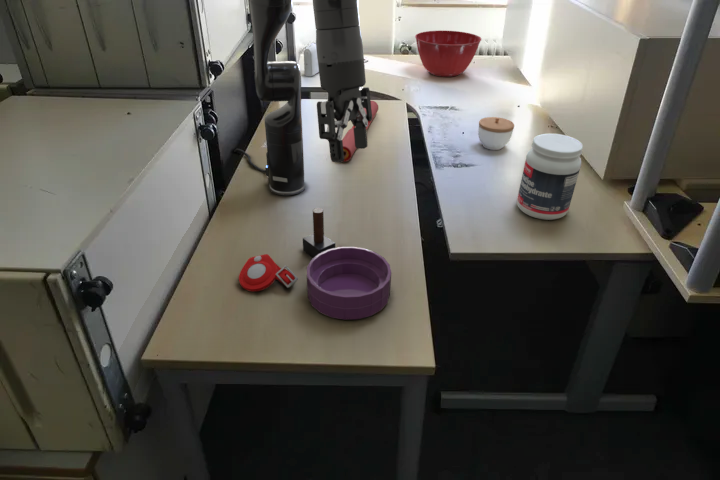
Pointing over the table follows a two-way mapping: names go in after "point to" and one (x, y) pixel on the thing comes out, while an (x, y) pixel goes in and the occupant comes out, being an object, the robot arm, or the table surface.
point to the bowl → (348, 282)
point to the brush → (317, 236)
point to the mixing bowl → (446, 51)
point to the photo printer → (310, 60)
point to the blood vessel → (349, 137)
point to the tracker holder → (264, 274)
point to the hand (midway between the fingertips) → (350, 154)
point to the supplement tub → (550, 176)
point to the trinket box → (495, 132)
